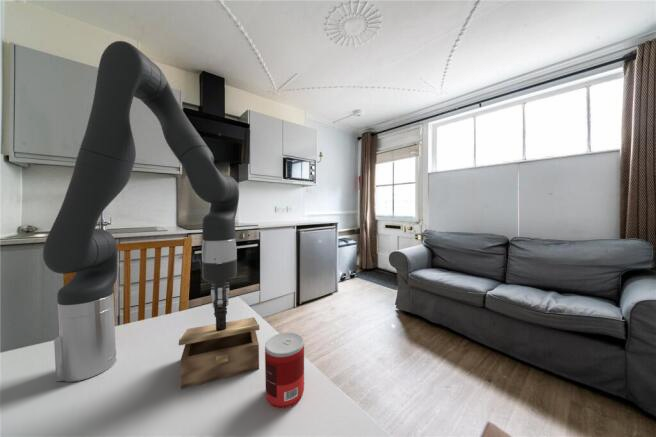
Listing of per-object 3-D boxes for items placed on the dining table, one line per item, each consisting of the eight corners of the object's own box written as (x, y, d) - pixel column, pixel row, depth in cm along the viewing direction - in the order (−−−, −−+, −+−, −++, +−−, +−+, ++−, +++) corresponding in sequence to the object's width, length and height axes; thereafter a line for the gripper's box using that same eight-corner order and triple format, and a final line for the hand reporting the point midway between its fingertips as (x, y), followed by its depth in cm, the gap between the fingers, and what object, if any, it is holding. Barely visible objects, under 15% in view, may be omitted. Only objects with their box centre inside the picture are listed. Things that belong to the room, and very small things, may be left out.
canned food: (310, 384, 52) (309, 335, 51) (292, 415, 44) (292, 357, 44) (279, 376, 54) (278, 329, 54) (257, 404, 47) (257, 349, 46)
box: (180, 389, 50) (180, 362, 50) (189, 356, 62) (188, 333, 61) (259, 369, 57) (258, 344, 56) (253, 342, 68) (253, 321, 68)
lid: (178, 345, 51) (178, 340, 51) (187, 332, 61) (187, 328, 62) (259, 329, 57) (259, 325, 57) (254, 320, 68) (254, 316, 68)
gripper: (204, 253, 61) (205, 319, 62) (199, 266, 49) (201, 347, 50) (235, 251, 64) (236, 314, 65) (238, 262, 52) (239, 339, 53)
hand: (221, 328), depth 58 cm, fingers closed
